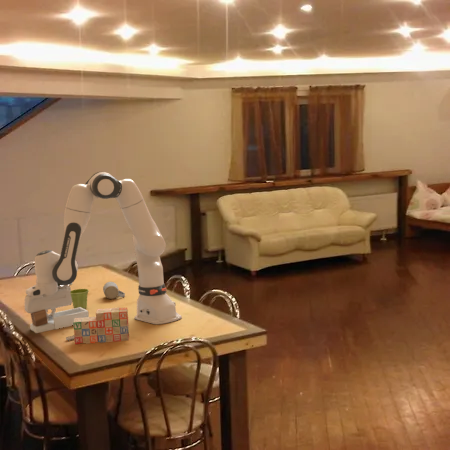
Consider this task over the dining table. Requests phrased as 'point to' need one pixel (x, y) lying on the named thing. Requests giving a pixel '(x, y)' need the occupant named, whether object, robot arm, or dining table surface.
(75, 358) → the dining table surface
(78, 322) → the stack of blocks
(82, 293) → the plant pot
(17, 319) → the dining table surface
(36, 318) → the walnut block
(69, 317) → the channel
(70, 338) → the steel rod
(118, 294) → the ceramic mug
